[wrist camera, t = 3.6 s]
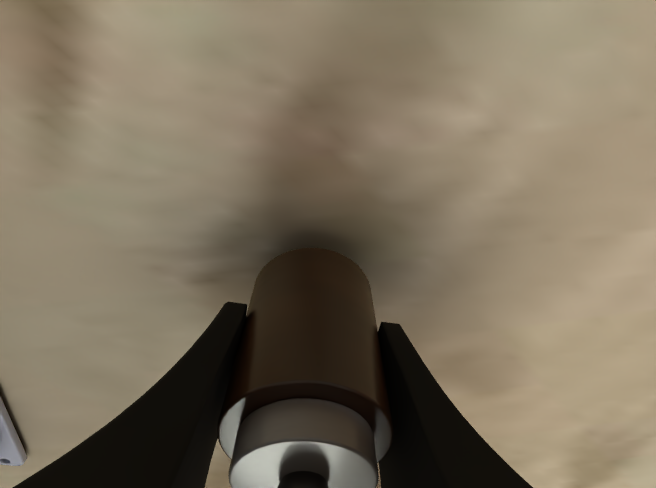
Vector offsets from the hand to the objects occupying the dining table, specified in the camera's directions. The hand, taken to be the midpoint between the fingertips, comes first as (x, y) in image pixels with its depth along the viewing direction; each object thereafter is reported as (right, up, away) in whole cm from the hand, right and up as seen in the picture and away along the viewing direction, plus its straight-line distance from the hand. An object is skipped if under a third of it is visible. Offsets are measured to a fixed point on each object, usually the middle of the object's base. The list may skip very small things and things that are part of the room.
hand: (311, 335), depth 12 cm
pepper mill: (0, +1, +2) cm, 2 cm away
